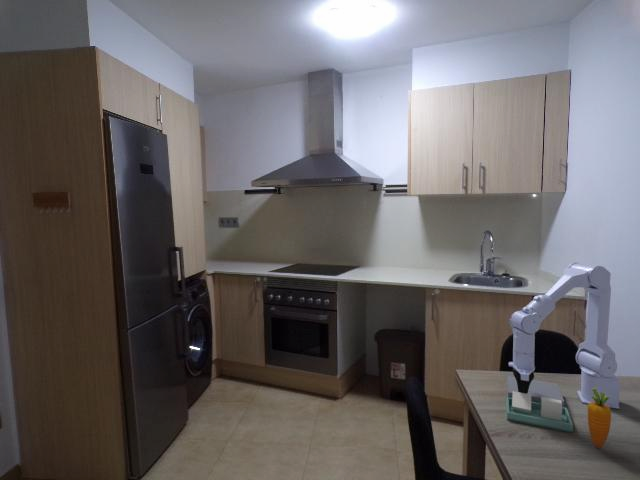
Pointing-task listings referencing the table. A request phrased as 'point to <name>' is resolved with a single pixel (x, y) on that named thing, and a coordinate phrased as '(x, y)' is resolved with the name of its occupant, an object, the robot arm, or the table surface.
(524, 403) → the tile
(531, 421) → the box
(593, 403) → the carrot
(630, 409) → the table surface
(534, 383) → the board
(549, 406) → the tile
